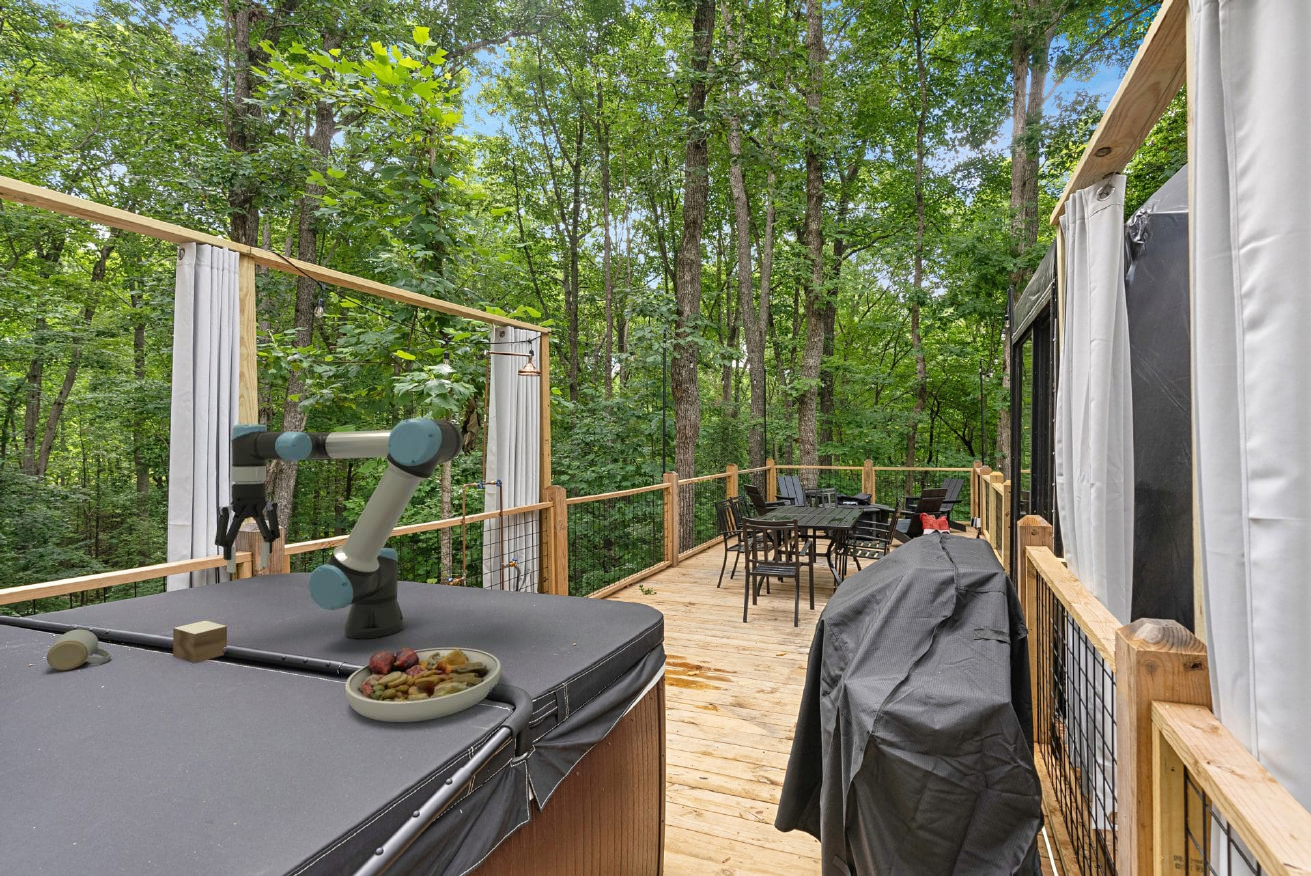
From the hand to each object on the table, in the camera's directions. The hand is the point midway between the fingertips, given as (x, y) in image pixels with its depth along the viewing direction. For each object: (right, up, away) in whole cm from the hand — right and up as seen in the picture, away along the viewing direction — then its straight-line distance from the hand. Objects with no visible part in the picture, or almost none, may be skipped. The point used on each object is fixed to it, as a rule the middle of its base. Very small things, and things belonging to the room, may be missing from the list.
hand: (248, 569), depth 157 cm
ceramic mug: (-29, -19, -16) cm, 38 cm away
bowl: (+60, -19, -33) cm, 71 cm away
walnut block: (-5, -19, -10) cm, 22 cm away
